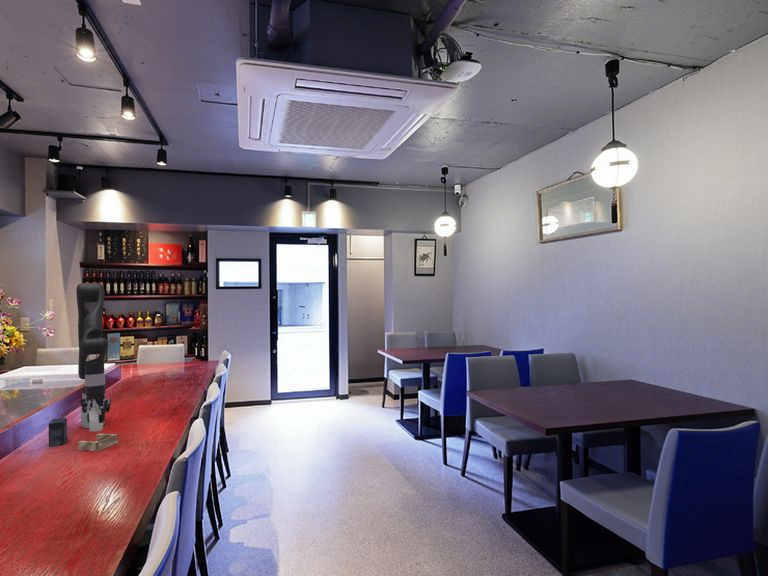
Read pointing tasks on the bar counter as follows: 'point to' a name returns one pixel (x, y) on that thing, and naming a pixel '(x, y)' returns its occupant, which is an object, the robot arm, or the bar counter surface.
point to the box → (57, 432)
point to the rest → (99, 442)
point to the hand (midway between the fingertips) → (96, 422)
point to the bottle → (94, 419)
